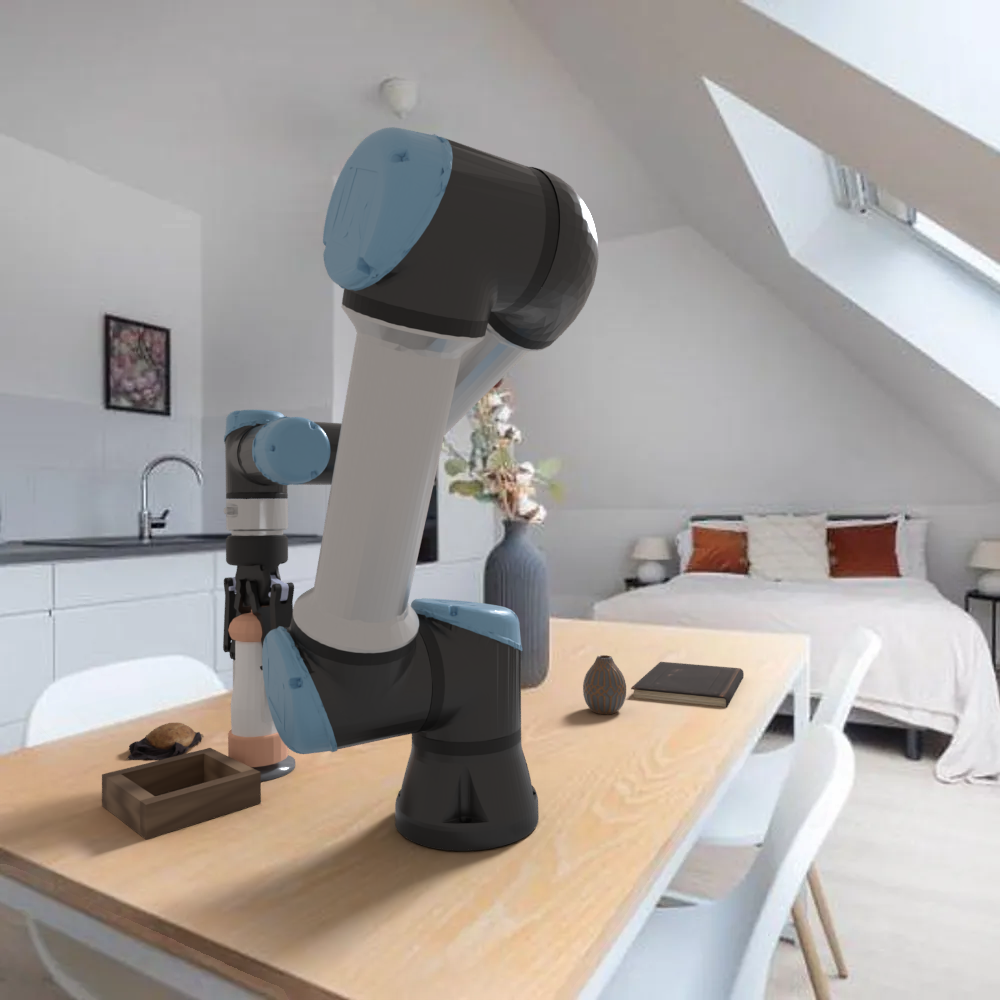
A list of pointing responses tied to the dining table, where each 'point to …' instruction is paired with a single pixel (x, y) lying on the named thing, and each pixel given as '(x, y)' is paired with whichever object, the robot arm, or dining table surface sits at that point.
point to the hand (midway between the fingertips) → (258, 714)
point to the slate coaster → (276, 769)
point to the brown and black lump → (165, 742)
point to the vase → (604, 686)
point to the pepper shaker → (250, 700)
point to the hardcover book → (689, 684)
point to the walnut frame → (180, 791)
